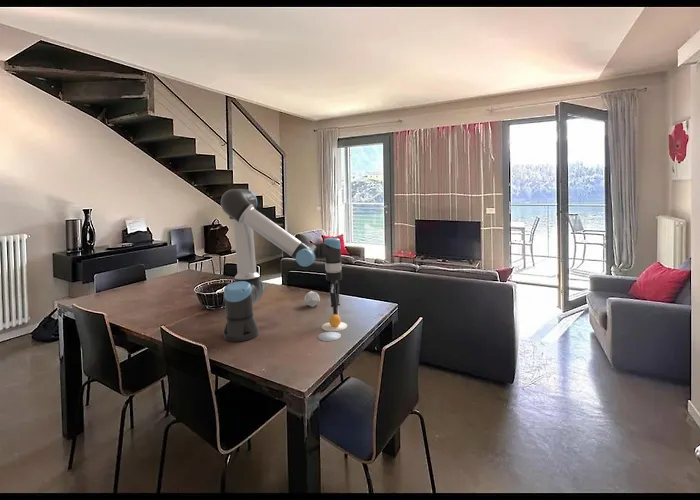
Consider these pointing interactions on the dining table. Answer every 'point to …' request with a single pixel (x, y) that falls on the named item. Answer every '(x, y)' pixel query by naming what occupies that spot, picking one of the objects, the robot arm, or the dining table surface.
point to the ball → (334, 320)
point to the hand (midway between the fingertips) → (336, 319)
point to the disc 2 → (329, 336)
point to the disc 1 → (331, 328)
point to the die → (311, 298)
